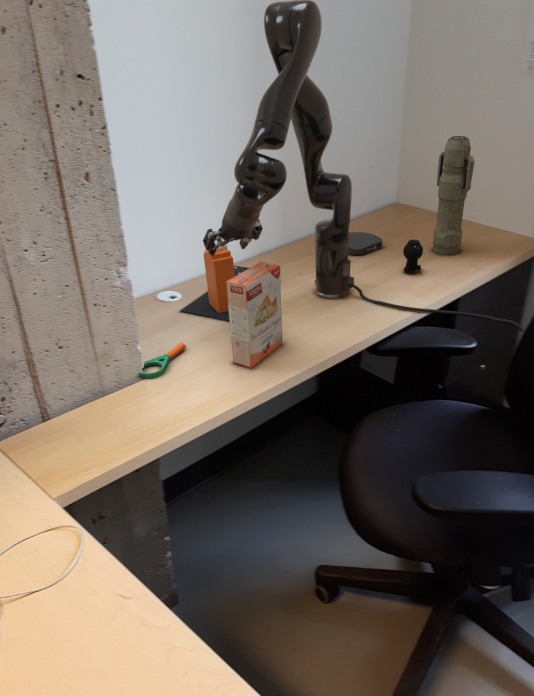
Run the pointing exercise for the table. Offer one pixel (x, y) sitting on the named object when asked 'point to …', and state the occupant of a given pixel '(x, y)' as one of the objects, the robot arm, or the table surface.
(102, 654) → the table surface
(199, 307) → the desk mat
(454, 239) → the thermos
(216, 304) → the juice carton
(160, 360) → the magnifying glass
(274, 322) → the cracker box
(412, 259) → the gumball machine
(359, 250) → the media streaming box
